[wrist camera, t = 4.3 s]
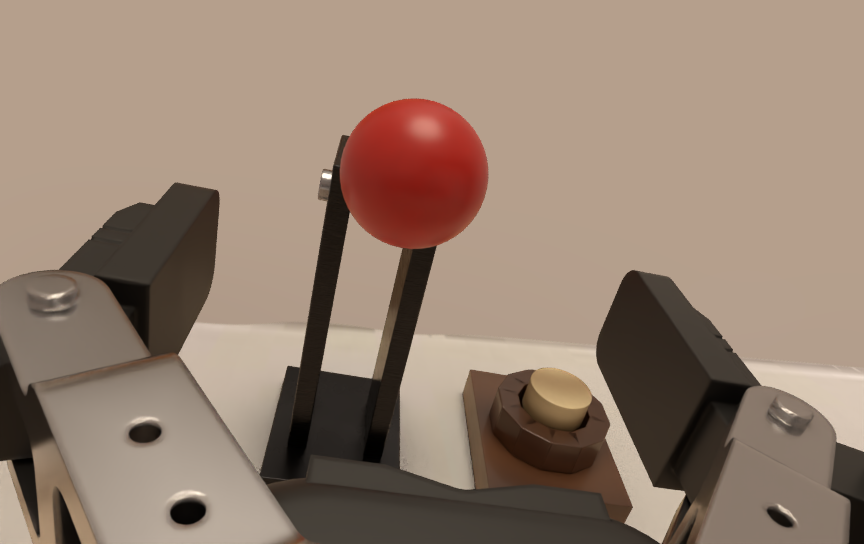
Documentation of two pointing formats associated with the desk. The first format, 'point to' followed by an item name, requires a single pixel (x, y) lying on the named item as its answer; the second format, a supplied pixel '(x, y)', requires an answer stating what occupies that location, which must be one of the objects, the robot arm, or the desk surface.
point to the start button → (556, 399)
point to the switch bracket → (337, 393)
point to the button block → (537, 444)
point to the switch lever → (414, 173)
